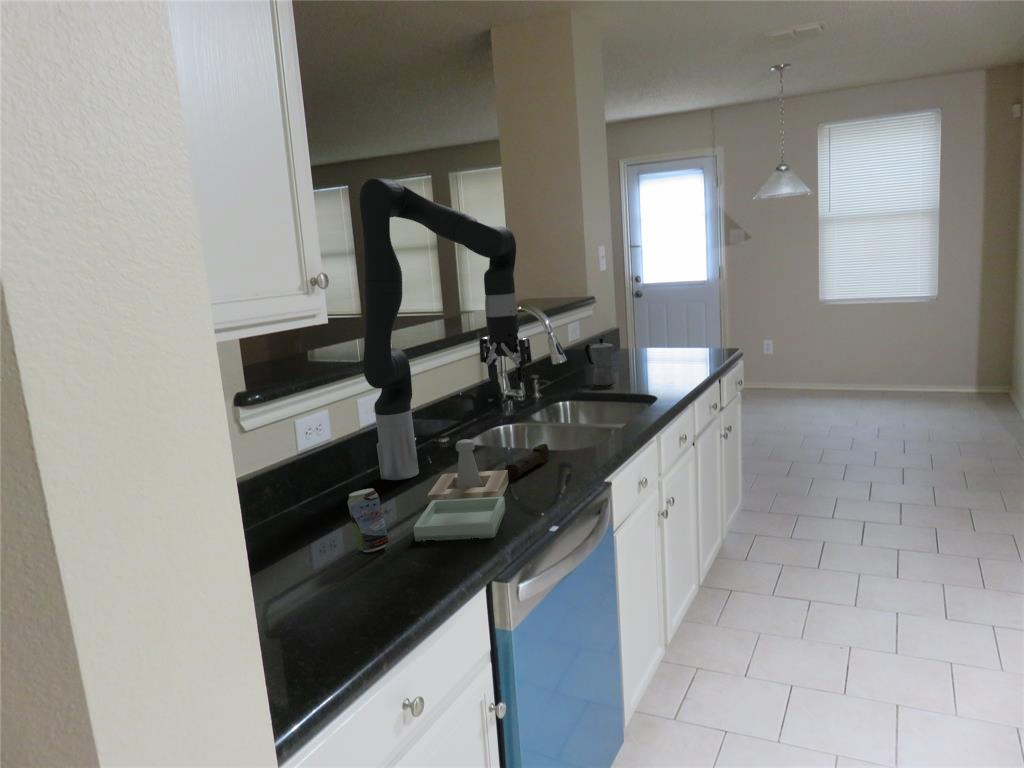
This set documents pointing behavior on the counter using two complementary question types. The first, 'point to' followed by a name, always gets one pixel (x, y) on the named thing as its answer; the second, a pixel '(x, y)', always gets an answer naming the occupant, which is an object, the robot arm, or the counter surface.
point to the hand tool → (528, 461)
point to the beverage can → (367, 520)
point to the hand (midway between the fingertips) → (507, 381)
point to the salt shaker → (467, 466)
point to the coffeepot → (601, 362)
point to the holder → (491, 487)
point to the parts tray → (460, 519)
